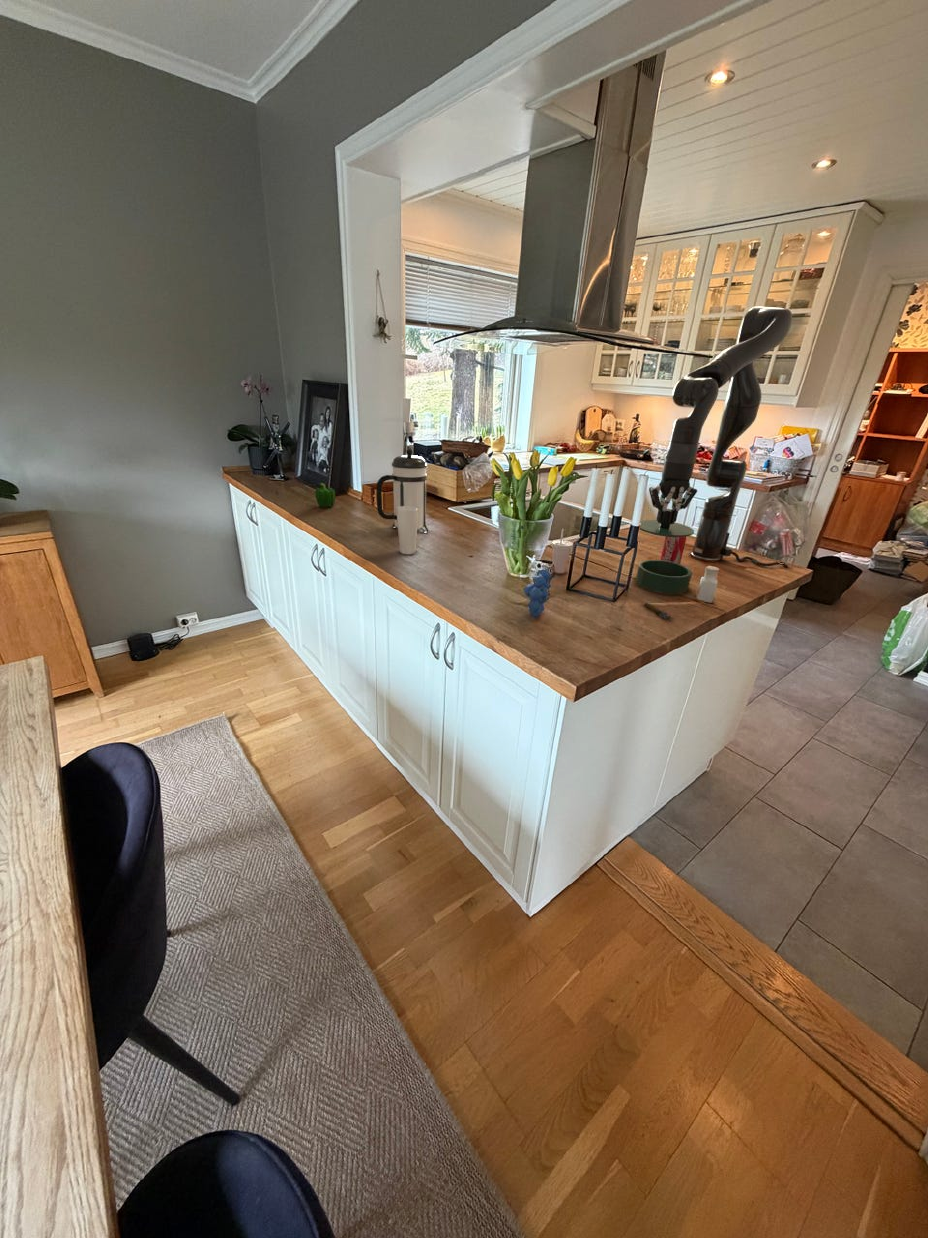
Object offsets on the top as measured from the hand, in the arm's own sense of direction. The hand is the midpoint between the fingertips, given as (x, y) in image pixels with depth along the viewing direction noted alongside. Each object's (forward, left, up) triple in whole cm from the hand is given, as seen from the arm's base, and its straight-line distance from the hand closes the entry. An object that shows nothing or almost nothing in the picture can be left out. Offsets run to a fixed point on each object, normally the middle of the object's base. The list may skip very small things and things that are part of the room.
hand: (665, 523), depth 138 cm
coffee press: (+71, -57, -19) cm, 93 cm away
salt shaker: (-9, +13, -19) cm, 24 cm away
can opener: (+9, +20, -19) cm, 29 cm away
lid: (0, 0, -2) cm, 2 cm away
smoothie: (+26, -10, -19) cm, 34 cm away
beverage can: (-13, -13, -19) cm, 27 cm away
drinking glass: (+72, -31, -19) cm, 81 cm away
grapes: (+42, +18, -19) cm, 49 cm away
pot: (-2, +2, -19) cm, 19 cm away
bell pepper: (+105, -95, -19) cm, 143 cm away
